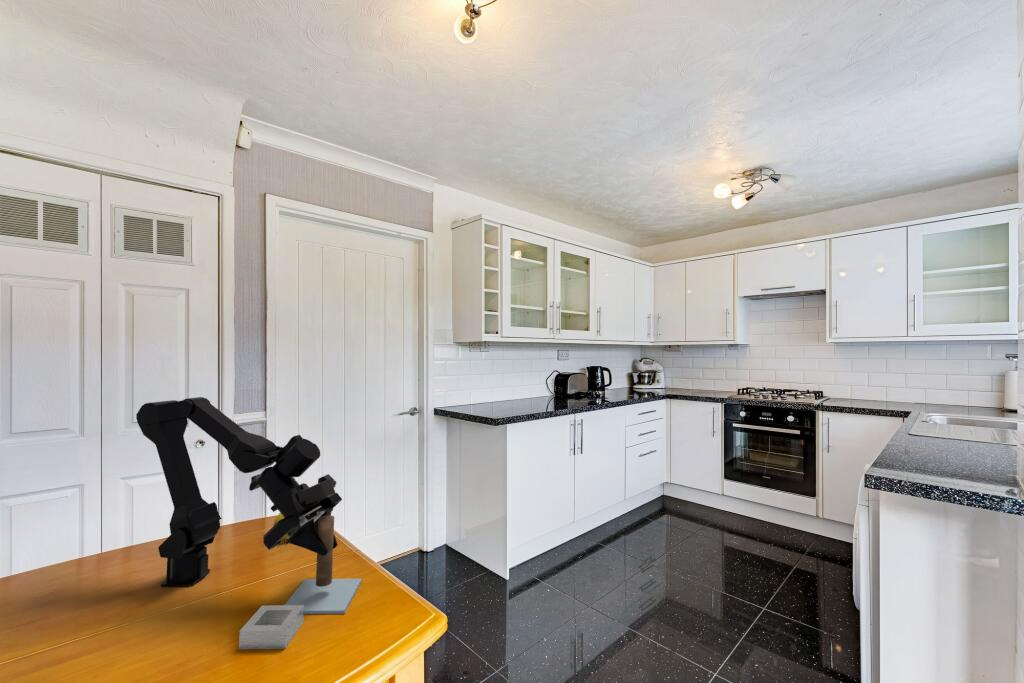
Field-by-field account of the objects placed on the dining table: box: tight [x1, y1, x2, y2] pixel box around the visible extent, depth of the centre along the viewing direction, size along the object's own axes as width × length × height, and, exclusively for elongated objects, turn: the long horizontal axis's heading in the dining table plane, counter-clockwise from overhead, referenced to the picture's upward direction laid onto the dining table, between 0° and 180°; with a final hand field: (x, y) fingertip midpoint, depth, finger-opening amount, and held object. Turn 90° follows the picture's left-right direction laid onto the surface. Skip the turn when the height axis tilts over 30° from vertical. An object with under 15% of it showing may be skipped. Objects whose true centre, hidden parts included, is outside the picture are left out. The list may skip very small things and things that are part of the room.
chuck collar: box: [238, 604, 305, 650], centre depth 78 cm, size 8×8×3 cm
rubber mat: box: [284, 578, 363, 615], centre depth 90 cm, size 12×12×1 cm
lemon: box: [273, 512, 289, 541], centre depth 117 cm, size 6×6×8 cm
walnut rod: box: [315, 514, 335, 587], centre depth 91 cm, size 3×3×13 cm
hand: (331, 550), depth 90 cm, fingers closed on walnut rod, 3 cm apart
